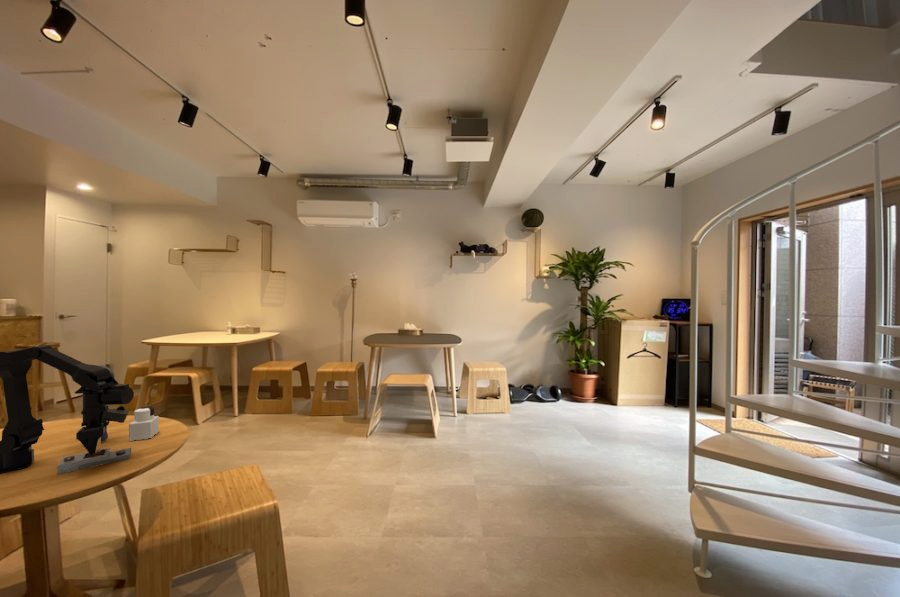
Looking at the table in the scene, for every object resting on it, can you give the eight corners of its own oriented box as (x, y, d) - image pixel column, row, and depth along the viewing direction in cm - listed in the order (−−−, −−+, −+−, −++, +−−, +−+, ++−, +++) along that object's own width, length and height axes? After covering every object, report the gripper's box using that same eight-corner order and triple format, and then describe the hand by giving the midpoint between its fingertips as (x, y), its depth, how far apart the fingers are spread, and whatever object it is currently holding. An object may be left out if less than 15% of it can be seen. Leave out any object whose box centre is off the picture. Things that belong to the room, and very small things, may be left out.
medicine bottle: (137, 434, 141) (137, 406, 141) (159, 432, 144) (158, 404, 144) (128, 441, 135) (128, 411, 135) (151, 439, 137) (150, 409, 137)
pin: (85, 466, 115) (84, 437, 115) (87, 462, 118) (87, 433, 118) (101, 463, 117) (101, 433, 117) (103, 458, 120) (103, 430, 120)
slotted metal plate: (57, 474, 110) (57, 463, 110) (62, 465, 115) (62, 455, 115) (129, 458, 121) (129, 448, 121) (131, 451, 126) (131, 441, 126)
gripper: (123, 407, 115) (124, 452, 116) (129, 394, 130) (129, 435, 130) (75, 414, 108) (75, 462, 109) (86, 400, 123) (87, 443, 123)
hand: (94, 449), depth 118 cm, fingers open, 8 cm apart
